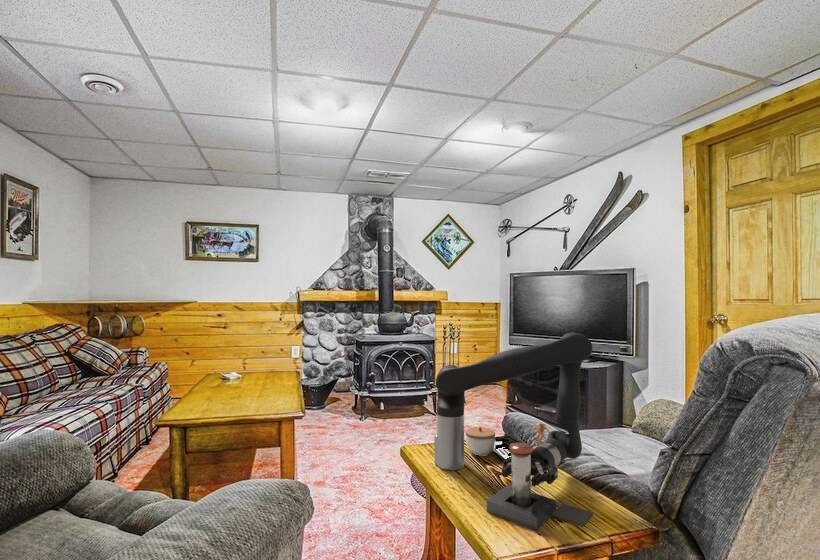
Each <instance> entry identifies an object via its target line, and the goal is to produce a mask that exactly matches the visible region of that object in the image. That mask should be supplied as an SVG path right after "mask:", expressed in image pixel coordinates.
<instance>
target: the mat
mask: <svg viewBox="0 0 820 560" xmlns="http://www.w3.org/2000/svg"><path fill="white" fill-rule="evenodd" d="M593 515H594V512H592V511H589V510H585V509H584V508H580V507H576V506H574V505H570V504H569V503H568V504H567V503H564V502H563V503H561V504H560V505H559V506H558V507H556V510H555V511H554V512H553V513H552V514H551V517H554V518H557V519H559V520H562V521H565V522H568V523H570V524H572V525H573V524H574V525H576V526H578V527H581V528H583V527H584V526H585V525H586V524H587V523H588V521H589V520H590V519H591V518H592V516H593ZM585 523H586V524H585Z"/></svg>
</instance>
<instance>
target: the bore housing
mask: <svg viewBox="0 0 820 560" xmlns="http://www.w3.org/2000/svg"><path fill="white" fill-rule="evenodd" d="M556 501H557V500H556V499H553V498H550V497H547V496H545V495H541V494H538V493H535V492H532V491H531V506H530V507H529V508H528V509H526V508H523V507H520V506H518V505H515V504H512V485H510V484H507V485H506V486H504V487H503V488H502V489H500V490H499V491H498V492H496V493H495V494H493V495H492V496H490V497H489V498H488V499H487V500H486V513H489V514H491V515H492V514H493V515H494V516H497V517H501V518H502V519H505V520H507V521H510V522H513V523H516V524H518V525H520V526H523V527H526V528H529V529H531V530H534V531H538V530H539V529H540V528H541V527H542V526H543V525H544V524H545V523H546V522H547V521H548V520H549V519H550V518H551V517H552V516H551V514H552V513H553V512H554V511H555V510H556V509H557V502H556Z"/></svg>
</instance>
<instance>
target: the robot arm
mask: <svg viewBox="0 0 820 560" xmlns="http://www.w3.org/2000/svg"><path fill="white" fill-rule="evenodd" d="M592 352H593V342H592V341H591V340H590V339H589V338H588V336H586V335H584V334H581V333H578V332H576V331H575V332H574V331H571V332H567V333H565V334H562V336H561V338H560V339H557V340H555V341H551V342H548V343H545V344H540V345H529V346H522V347H521V346H520V347H516V348H512V349H507V350H504V351H500V352H498V353H494V354H493V355H491V356H488V357H486V358H484V359H481V360H480V361H478V362H476V363H472V364H468V365H463V366H458V365H455V364H447V365H444V366H443V367H441V369H439V371H438V373H437V375H436V378H435V387H436V390H437V398H436V399H437V400H436V401H437V402H436V434H435V435H434V438H433V439H434V443H433V444H434V465H436V466H437V467H438V468H439V469H442V470H446V471H447V470H448V471H457V470H461V469H463V468H464V467H465V391H470V390H471V389H474V388H477V387H480V386H485V385H489V384H490V385H492V384H496V383H500V382H505V381H510V380H514V379H516V378H517V379H518V378H521V377H524V376H527V375H530V374H534V373H537V372H540V371H543V370H545V369H548V368H552V367H556V366H559V382H558V392H557V400H556V408H555V418H554V419H555V422H556V423H557V425H560V426H561V427H563V428H564V429H566V431H567V432H563V431H559V430H552V431H550V433H549V435H548V434H547V438H546V440H545V442H542V444H541V445H540V444H538V446H537V447H535V446H534V447H535V448H534V449H533V452H532V454H531V487H536V486H539V485H541V484H543V483H545V482H546V484H547V485H552V484H553V483H554V482H555V480H557V479H558V477H559V472H558V471H559V470H558V469H559V468H558V466H559V465H560V464H561V463H563V461H564V460H565V459H566V458H569V459H573V460H575V459H576V460H577V458H579V457H580V456H581V453H582V449H583V447H582V446H583V445H582V438H581V434H580V426H579V424H580V423H579V421H580V419H579V418H580V417H579V416H580V409H581V388H580V378H581V377H580V376H581V375H580V374H581V369H582V368H581V367H582V363H583V362H584V361H586V360H587V359H588V358H589V357H591V354H592ZM501 475H502V477H503V478H507V477H509V476H510V475H511V457H509V458H507V459H505V460H504V459H503V461H502V469H501Z"/></svg>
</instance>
